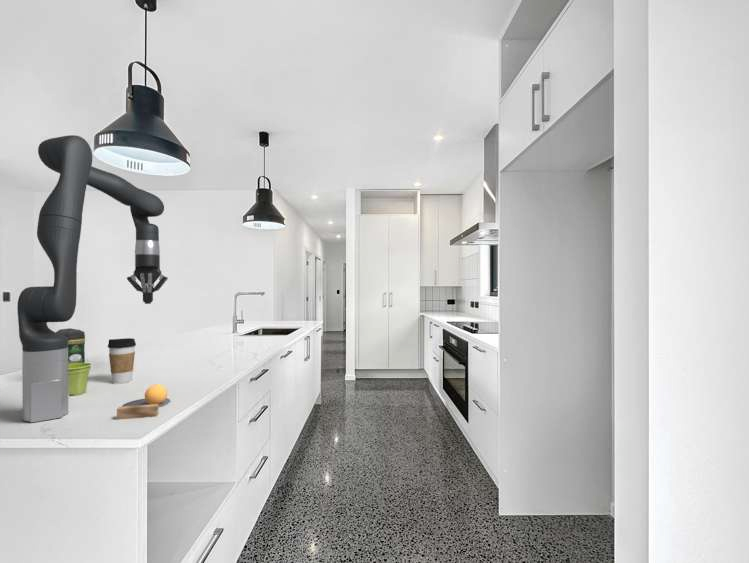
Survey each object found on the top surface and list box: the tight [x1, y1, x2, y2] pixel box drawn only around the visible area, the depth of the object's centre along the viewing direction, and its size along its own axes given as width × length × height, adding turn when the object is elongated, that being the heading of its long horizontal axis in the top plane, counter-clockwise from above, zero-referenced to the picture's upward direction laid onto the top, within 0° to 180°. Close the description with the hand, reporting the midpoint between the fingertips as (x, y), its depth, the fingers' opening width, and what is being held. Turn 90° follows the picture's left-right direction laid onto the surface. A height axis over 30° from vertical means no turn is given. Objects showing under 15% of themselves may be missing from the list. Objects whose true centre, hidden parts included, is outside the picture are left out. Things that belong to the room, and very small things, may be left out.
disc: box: [121, 397, 171, 408], centre depth 116 cm, size 12×12×1 cm
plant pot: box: [68, 362, 93, 396], centre depth 128 cm, size 9×9×9 cm
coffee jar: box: [55, 328, 86, 364], centre depth 144 cm, size 10×8×19 cm
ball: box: [144, 384, 168, 404], centre depth 115 cm, size 6×6×6 cm
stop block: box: [116, 404, 160, 420], centre depth 105 cm, size 9×2×3 cm, turn 104°
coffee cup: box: [107, 337, 137, 384], centre depth 143 cm, size 8×8×15 cm
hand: (147, 303), depth 144 cm, fingers closed
